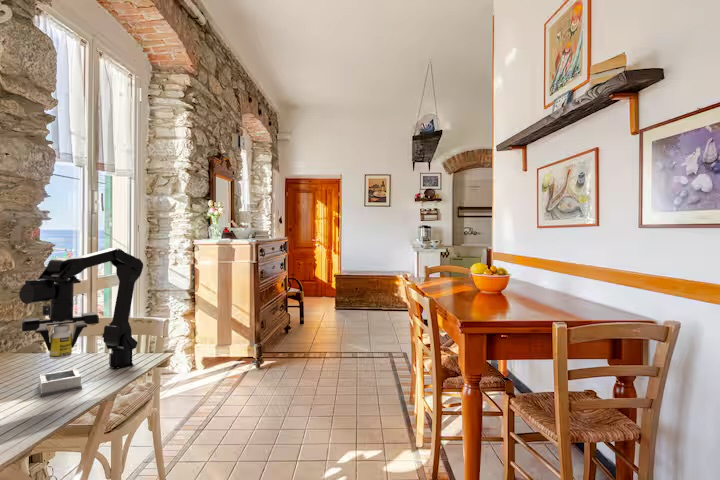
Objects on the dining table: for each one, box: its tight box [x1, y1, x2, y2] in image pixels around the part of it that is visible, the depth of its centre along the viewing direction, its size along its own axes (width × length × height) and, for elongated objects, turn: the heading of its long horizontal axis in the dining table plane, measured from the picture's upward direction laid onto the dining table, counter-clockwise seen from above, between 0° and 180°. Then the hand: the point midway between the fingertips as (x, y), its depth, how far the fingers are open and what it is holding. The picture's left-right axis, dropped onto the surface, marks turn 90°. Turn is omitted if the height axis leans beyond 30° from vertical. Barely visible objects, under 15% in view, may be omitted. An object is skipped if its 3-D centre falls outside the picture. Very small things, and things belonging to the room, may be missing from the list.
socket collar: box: [37, 368, 83, 398], centre depth 120 cm, size 10×10×4 cm
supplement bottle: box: [49, 323, 73, 360], centre depth 120 cm, size 5×5×10 cm
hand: (61, 348), depth 120 cm, fingers closed on supplement bottle, 5 cm apart
